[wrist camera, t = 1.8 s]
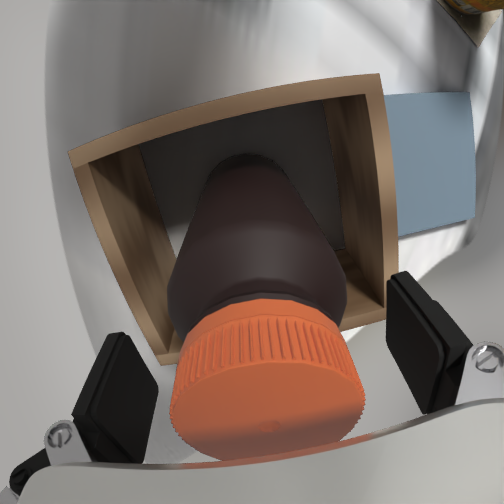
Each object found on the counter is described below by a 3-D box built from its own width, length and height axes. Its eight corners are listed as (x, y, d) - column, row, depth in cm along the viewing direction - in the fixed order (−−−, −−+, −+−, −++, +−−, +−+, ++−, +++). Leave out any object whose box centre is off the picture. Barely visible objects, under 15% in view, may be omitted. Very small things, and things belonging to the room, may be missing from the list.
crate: (122, 133, 22) (67, 151, 14) (331, 82, 21) (379, 73, 13) (178, 295, 29) (160, 365, 21) (356, 256, 28) (397, 315, 20)
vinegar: (215, 143, 23) (134, 285, 5) (301, 165, 24) (450, 340, 6) (196, 225, 26) (132, 459, 8) (276, 243, 27) (332, 478, 9)
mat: (362, 97, 22) (367, 97, 21) (462, 91, 21) (469, 92, 20) (379, 235, 27) (383, 240, 26) (468, 214, 26) (474, 217, 25)
